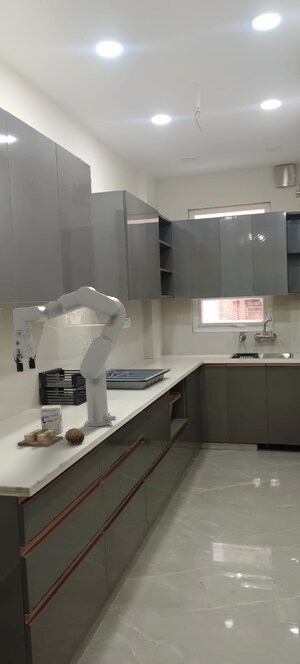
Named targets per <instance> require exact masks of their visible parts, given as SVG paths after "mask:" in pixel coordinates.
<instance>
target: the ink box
mask: <svg viewBox="0 0 300 664" xmlns="http://www.w3.org/2000/svg"><path fill="white" fill-rule="evenodd" d="M40 421H41V429H43V433H44V432H46V431H48V430H55V435H58V434H60V435H61V434H62V433H63V431H64V429H63V428H64V427H63V413H62V405H61V404H59V405H57V404H56V405H54V404H53V405H43V406H42V407H40Z"/></svg>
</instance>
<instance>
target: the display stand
mask: <svg viewBox="0 0 300 664" xmlns="http://www.w3.org/2000/svg"><path fill="white" fill-rule="evenodd" d="M23 437H24V439H22V440H20V441H18V442H17V446H19V447H20V446H22V447H43V448H44V447H47V448H48V447H50V446H52V445H54V444H56V443H57V442H59V441H61V440H63V436H60V435H59V436H58V435H56V434H55V430H48V431H46V432H44V433H43V429H42V428H40V429H35V430H33V431H30V432H29V433H26V434H24V435H23Z"/></svg>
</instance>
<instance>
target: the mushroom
mask: <svg viewBox="0 0 300 664" xmlns="http://www.w3.org/2000/svg"><path fill="white" fill-rule="evenodd" d="M64 437H65V440H66V441H67V442H68V443H70V444H72V445H79V444H82V443H83V442H84V441H85V435H84V432H83V431H82V430H81V429H79V428H76V427H73V428H70V429H68V430H67V431H66V432H65V435H64Z"/></svg>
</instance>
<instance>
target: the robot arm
mask: <svg viewBox="0 0 300 664" xmlns="http://www.w3.org/2000/svg"><path fill="white" fill-rule="evenodd" d="M56 300H57V301H56ZM56 300H54V301H51V302H48V303H45V304H42V305H35V306H29V307H17V308H13V310H12V315H13V316H12V317H13V327H14V336H15V337H14V352H13V354H12V357H13V360H14V362H15V364H16V365H15V366H16V372H20V373H21V372H22V373H23V372H24V363H23V360H24V359H28V368H29V370H35V369H36V357H37V350H36V349H35V342H34V338H33V335H32V325H31V323H39V322H40V323H41V322H46V321H49V320H52V319H54V318H58V317H60V316H64V315H67V314H69V313H73V312H75V311H77V310H81V309H84V308H87V309H89V310H92V311H94V312H96V313H99V314H100V315H103V316H106V317H107V320H106V321H105V323H104V325H103V327H102V329H101V331H100V333H99V335H98V337H95V338H94V339H93V340H92V341H91V342H90V345H89V347H88V349H87V350H86V352H85V354H84V357H83V359H82V361H81V363H80V368H79V371H80V372H79V373H80V374H81V376H82V377H83V378H85V394H86V396H85V397H86V409H87V410H86V411H87V412H86V413H87V420H86V421H85V422H84V426H86V427H91V428H92V427H93V428H95V427H96V428H97V427H104V426H108V425H111V424H112V422H113V421H114V422H116V421H117V417H116V415H111V412H109V408H108V407H109V405H108V394H107V393H108V391H107V365H106V362H107V360H108V358H109V356H110V355H111V354H112V353H113V352H114V350H115V347H116V345H117V343H118V341H119V338H120V336H121V334H122V331H123V330H124V327H125V324H126V321H127V313H126V309H125V306H124V304H123V303H122V302H121V301H120V300H119V299H118V298H116V297H113V296H108V295H106V294H103V293H101V292H100V291H97V290H96V289H95V288H94V287H91V286H81V287H79V288H78V289H77V290H75V291H72V292H69V293H66V294H63V295H60V296H59V298H57V299H56Z"/></svg>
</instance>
